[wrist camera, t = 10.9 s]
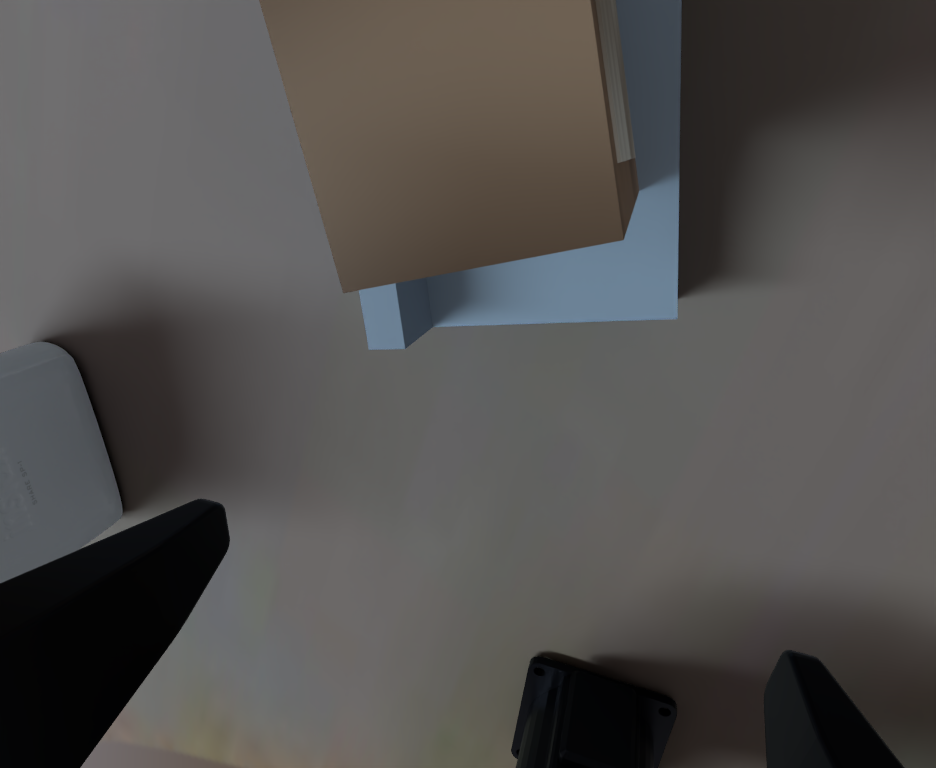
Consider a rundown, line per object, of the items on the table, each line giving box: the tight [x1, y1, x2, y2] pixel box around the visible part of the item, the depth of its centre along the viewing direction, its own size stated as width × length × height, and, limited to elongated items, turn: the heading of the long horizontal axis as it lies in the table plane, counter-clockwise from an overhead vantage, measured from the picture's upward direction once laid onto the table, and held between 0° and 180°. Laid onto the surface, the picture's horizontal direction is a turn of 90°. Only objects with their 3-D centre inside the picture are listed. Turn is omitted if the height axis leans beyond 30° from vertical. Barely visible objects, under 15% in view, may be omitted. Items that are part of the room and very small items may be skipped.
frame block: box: [259, 0, 639, 293], centre depth 12 cm, size 7×4×10 cm, turn 13°
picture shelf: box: [359, 0, 682, 350], centre depth 17 cm, size 14×9×5 cm, turn 7°
